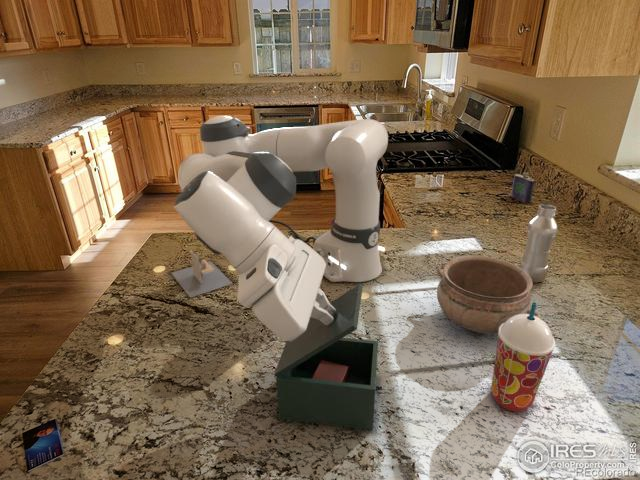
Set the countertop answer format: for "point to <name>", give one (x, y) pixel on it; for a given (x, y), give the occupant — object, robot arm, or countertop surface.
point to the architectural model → (200, 277)
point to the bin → (332, 387)
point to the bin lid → (322, 332)
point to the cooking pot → (483, 292)
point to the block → (331, 372)
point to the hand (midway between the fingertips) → (331, 318)
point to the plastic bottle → (539, 243)
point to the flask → (522, 188)
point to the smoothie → (521, 360)
